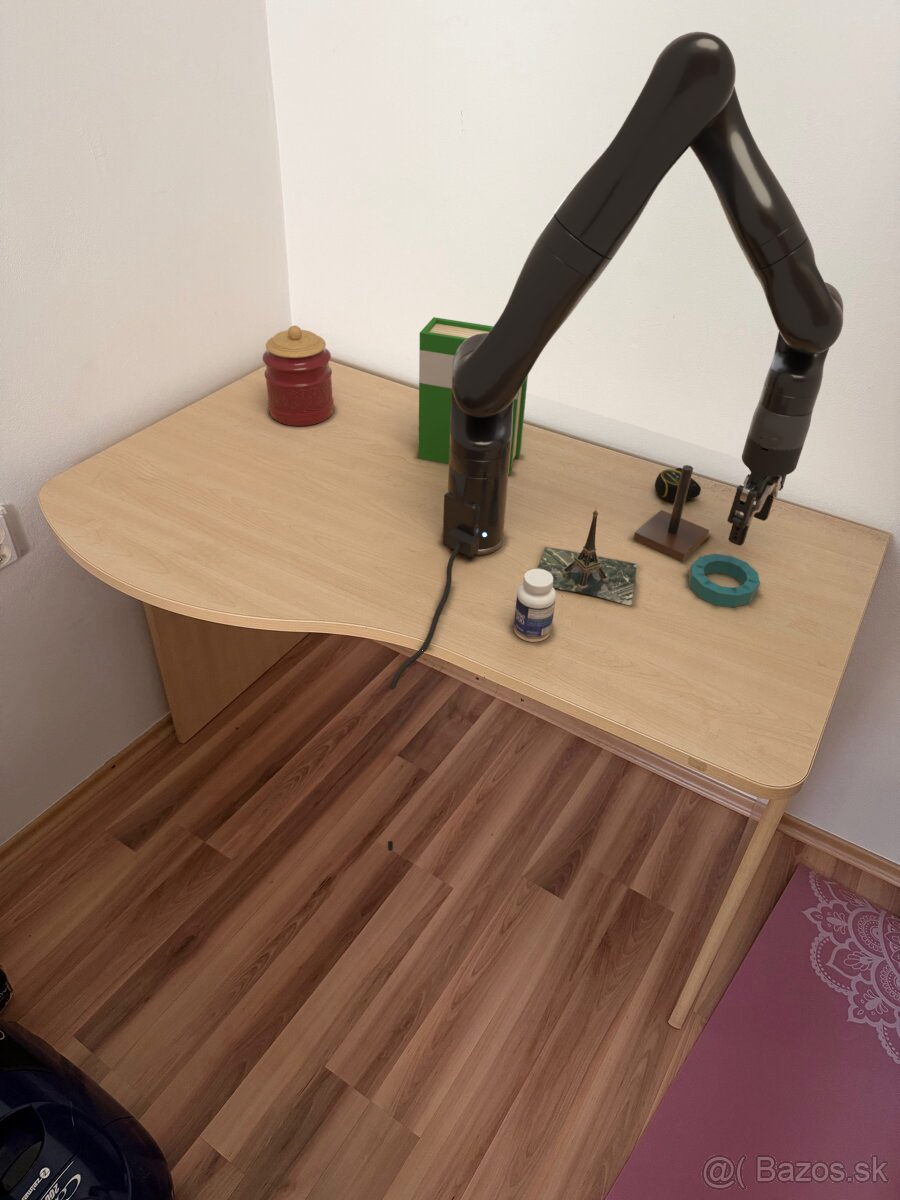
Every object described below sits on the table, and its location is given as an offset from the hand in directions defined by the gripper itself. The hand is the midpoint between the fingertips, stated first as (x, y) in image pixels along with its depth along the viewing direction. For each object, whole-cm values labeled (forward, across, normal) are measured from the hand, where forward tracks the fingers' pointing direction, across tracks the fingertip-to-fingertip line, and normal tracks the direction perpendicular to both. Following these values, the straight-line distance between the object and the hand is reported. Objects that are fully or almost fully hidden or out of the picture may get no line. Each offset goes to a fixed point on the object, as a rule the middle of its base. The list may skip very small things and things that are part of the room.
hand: (747, 530), depth 126 cm
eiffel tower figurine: (+8, +16, -17) cm, 25 cm away
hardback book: (+8, 0, -53) cm, 54 cm away
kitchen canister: (+8, +9, -89) cm, 90 cm away
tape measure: (+8, -15, -18) cm, 25 cm away
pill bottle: (+8, +32, -16) cm, 37 cm away
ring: (+8, +4, 0) cm, 9 cm away
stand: (+8, -2, -12) cm, 15 cm away
